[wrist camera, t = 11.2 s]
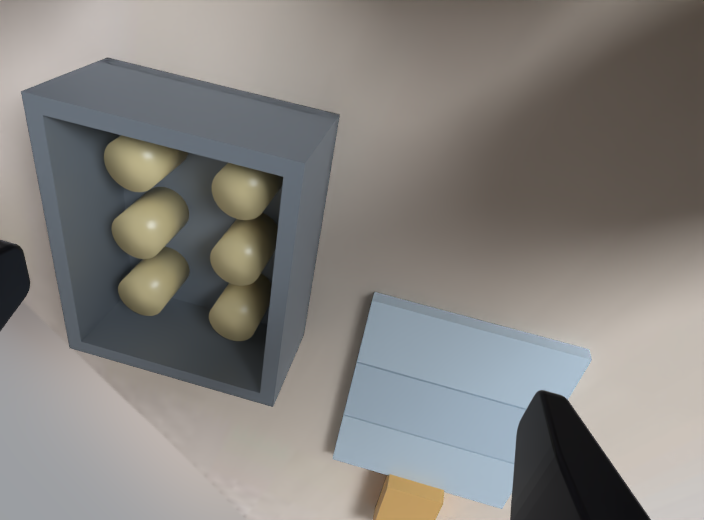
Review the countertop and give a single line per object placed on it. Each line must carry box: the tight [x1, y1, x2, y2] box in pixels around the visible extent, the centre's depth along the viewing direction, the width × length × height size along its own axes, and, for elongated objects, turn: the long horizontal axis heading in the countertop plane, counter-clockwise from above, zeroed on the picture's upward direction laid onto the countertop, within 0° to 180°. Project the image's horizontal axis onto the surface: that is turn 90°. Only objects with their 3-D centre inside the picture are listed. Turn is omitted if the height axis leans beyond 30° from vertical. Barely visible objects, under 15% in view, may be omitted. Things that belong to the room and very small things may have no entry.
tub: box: [21, 58, 340, 407], centre depth 21 cm, size 9×11×4 cm
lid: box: [333, 292, 592, 520], centre depth 27 cm, size 9×16×2 cm, turn 170°
